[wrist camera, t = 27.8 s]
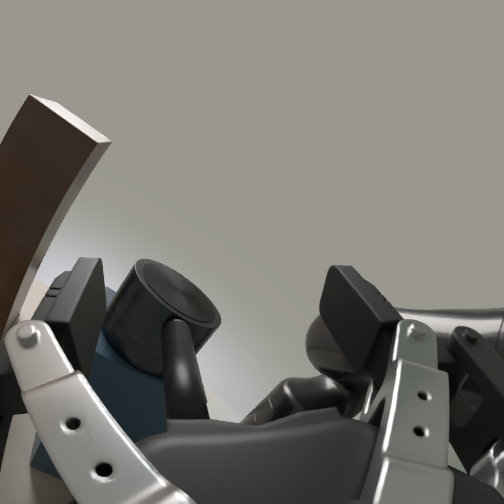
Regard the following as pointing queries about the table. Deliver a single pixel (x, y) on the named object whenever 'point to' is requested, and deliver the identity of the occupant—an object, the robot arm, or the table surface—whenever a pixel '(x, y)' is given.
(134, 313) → the saucepan
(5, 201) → the tall plinth
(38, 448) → the blue rectangular block
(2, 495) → the table surface
